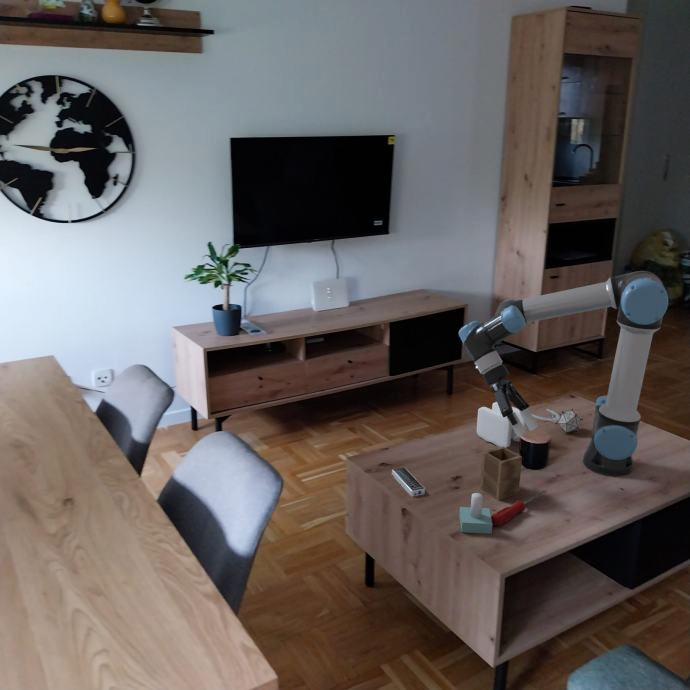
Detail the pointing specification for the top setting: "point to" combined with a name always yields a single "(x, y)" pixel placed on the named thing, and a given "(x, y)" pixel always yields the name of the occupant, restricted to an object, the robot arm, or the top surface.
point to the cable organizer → (497, 426)
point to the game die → (569, 421)
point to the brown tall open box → (500, 472)
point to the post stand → (475, 517)
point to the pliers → (549, 417)
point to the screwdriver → (510, 511)
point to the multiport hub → (408, 482)
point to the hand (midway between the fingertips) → (528, 431)
